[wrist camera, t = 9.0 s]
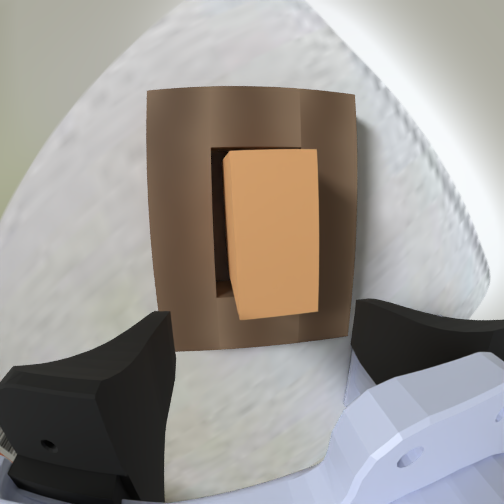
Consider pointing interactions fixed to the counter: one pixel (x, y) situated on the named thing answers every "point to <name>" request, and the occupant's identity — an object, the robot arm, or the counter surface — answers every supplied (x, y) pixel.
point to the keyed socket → (200, 205)
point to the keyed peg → (272, 230)
